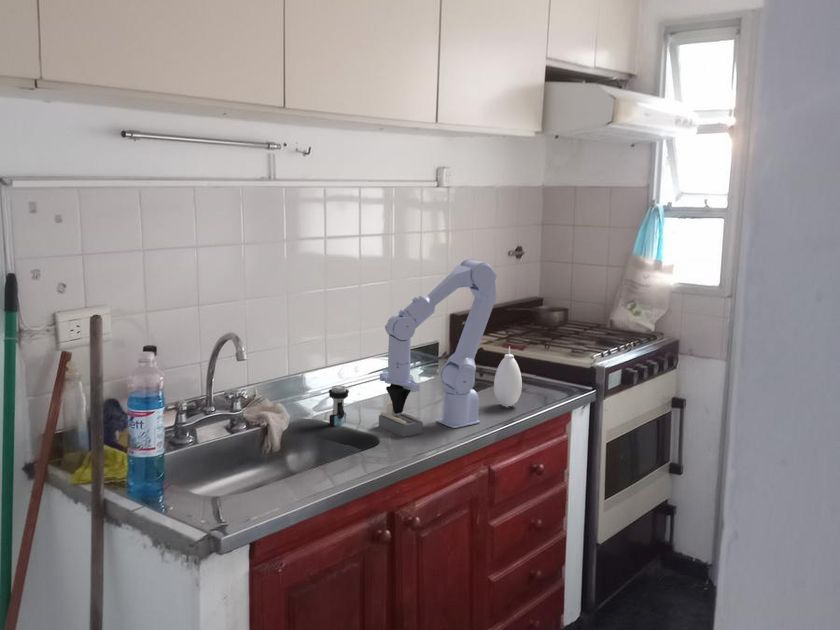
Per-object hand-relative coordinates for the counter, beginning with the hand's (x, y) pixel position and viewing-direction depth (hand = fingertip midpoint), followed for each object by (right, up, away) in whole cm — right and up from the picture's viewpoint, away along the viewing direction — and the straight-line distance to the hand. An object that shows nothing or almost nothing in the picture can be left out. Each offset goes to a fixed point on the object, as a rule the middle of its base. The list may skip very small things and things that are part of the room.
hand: (398, 412), depth 212 cm
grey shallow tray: (+1, -4, 0) cm, 4 cm away
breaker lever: (-1, -1, +2) cm, 2 cm away
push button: (-16, -3, +4) cm, 17 cm away
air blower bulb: (+31, -1, +24) cm, 39 cm away
